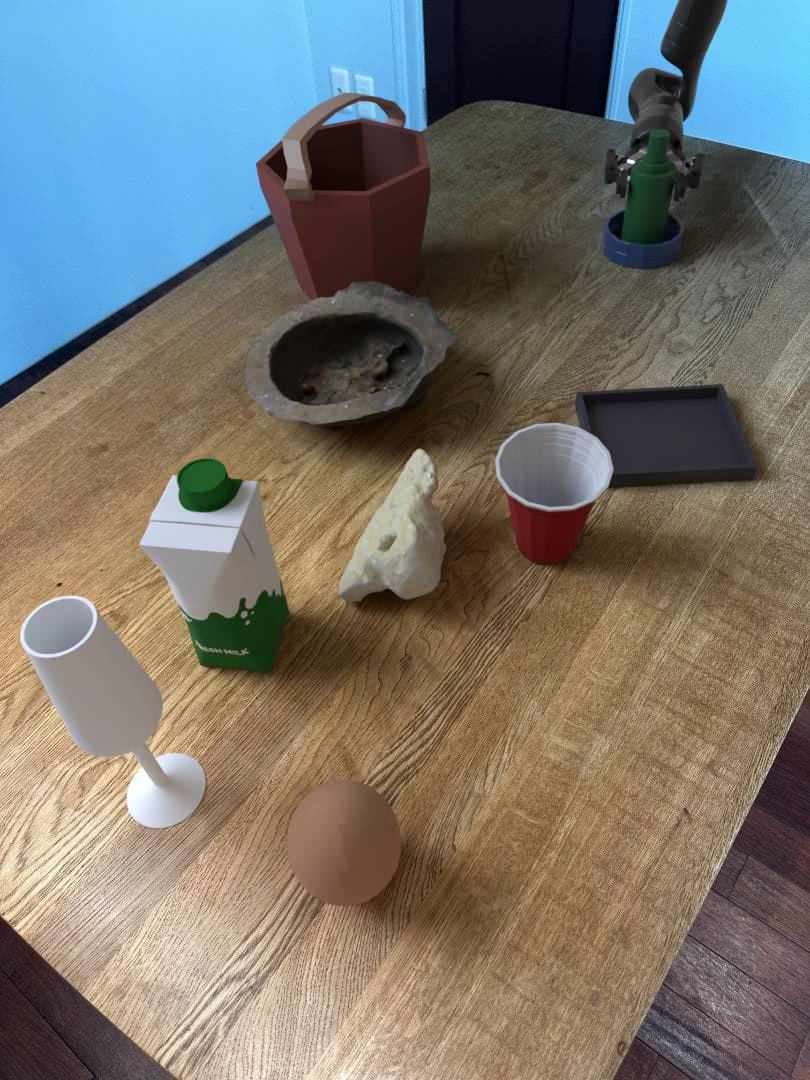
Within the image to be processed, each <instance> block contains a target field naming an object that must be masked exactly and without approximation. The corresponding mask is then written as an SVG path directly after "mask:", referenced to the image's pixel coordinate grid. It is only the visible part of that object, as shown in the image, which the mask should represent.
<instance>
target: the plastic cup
mask: <svg viewBox="0 0 810 1080" xmlns="http://www.w3.org/2000/svg"><path fill="white" fill-rule="evenodd" d="M494 464H495V472H496V478H497V480H498V482H499V484H501V486H502V487H503V490H504V491H505V496H506V497H507V502H508V507H509V513H510V518H511V522H512V523H511V524H512V530H513V532H514V536H515V542H516V546H517V548H518V550H519V552H520V554H521V555H522V556H523V557H524V558H525V559H526V560H528V561H530V562H532V563H534V564H538V565H542V566H546V565H547V566H548V565H556V564H559V563H561V562H564V561H565V560H566V559H567V558H568V557H569V556H570V555H571V554H572V552H573V551H574V549H575V547H576V544H577V541H578V538H579V537H580V536H581V533H582V531H583V529H584V527H585V525H586V522H587V520H588V517H589V515H590V513H591V511H592V508H593V505H594V504H595V503H596V501H597V499H598V498H599V497H600V496H601V495H602V494H603V493H604V492H605V491H606V490H607V489H608V488H609V487H608V486H609V483H610V479H611V476H612V473H613V470H614V469H613V465H612V461H611V456H610V452H609V451H608V450H607V449H606V448H605V446H604V445H603V444H602V443H601V441H600V440H599V439H598V438H597V437H595V436H593V435H592V434H590V433H588V432H586V431H585V430H583V429H581V428H580V426H575V425H570V424H565V423H561V422H549V423H548V422H547V423H535V424H531V425H529V426H527V427H524V428H521V429H519V430H517V431H514V433H512V434H511V435H510V436H509V437H508V438H506V440H504V441H503V442H502V443H501V444H500V446H499V449H498V452H497V454H496V457H495V458H494Z"/></svg>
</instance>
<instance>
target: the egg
mask: <svg viewBox="0 0 810 1080" xmlns="http://www.w3.org/2000/svg"><path fill="white" fill-rule="evenodd" d="M286 835H287V836H286V838H287V839H286V846H287V847H286V848H287V857H288V860H289V862H290V866H291V869H292V871H293V875H294V876H295V878H296V879H297V880H298V882H299V884H300V885H301V886H302V887H303V888H304V890H306V892H307V893H309V895H310V896H312V897H314V898H316V899H317V900H319V901H321V902H323V903H326V904H328V905H331V906H338V907H349V906H355V905H360V904H363V903H365V902H368V901H370V900H371V899H372V898H374V897H376V896H378V895H379V894H380V893H381V892H382V891H383V889H385V888H386V886H387V885H388V884H389V883H390V881H391V880H392V879H393V877H394V875H395V873H396V872H397V869H398V866H399V862H400V859H401V855H402V837H401V829H400V825H399V822H398V819H397V815H396V813H395V812H394V810H393V809H392V807H391V805H390V803H389V802H388V801H387V800H386V799H385V797H384V796H383V795H382V793H380V792H379V791H377V790H376V789H374V788H373V787H371V786H370V785H367V784H366V783H363V782H359V781H358V780H357V781H356V780H350V779H349V780H348V779H336V780H330V781H327V782H323V783H322V784H320V785H319V786H316V787H315V788H313V789H312V790H311V791H310V792H308V794H307V795H305V796H304V797H303V798H302V800H301V801H300V802H299V803H298V805H297V807H296V808H295V810H294V811H293V813H292V815H291V818H290V821H289V825H288V829H287V833H286Z"/></svg>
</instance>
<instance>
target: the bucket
mask: <svg viewBox="0 0 810 1080" xmlns="http://www.w3.org/2000/svg"><path fill="white" fill-rule="evenodd" d="M359 102H365V103H366V102H369V103H374V104H376V105H377V106H378V107H379V108H380V109H381V110H382V111H383V112H384V114H385V115H386V119H385V120H386V121H384V122H381V121H377V120H373V119H368V118H364V117H360V118H355V119H350V120H344V121H340V122H334V123H328V124H326V122H327V121H329V120H330V119H331V118H333V116H334V115H335V114H338V113H339V112H341V111H342V110H345V109H346V108H347V107H350V106H352V105H354V104H357V103H359ZM406 121H407V115H406V113H405V112H404V111H403V109H402V108H401V107H400V106H399V105H398V103H397V102H396V101H393V100H389V99H386V98H384V97H381V96H380V97H379V96H374V95H369V94H365V93H359V92H357V93H356V92H342V93H339V94H337V95H335V96H333V97H330V98H328V99H326V100H325V101H323V102H321V103H319V104H317V105H315V106H314V107H313V108H311V109H310V110H309V111H307V112H306V113H304V114H303V115H302V116H301V117H300V118H298V120H296V121H295V122H294V123H293V124H291V126H290V127H289V129H288V130H287V131H286V133H285V134H284V135H283V136H282V138H281V140H280V141H279V142H278V143H276V145H275V146H273V147H272V148H271V149H270V150H269V151H268V152H267V153H266V154H265V155H263V156H262V157H261V158H260V159H259V160H258V161H257V162H255V168H256V173H257V177H258V178H257V179H258V182H259V188H260V189H261V192H262V194H263V195H262V196H263V198H264V199H265V202H266V205H267V207H268V210H269V213H270V214H271V217H272V219H273V222H274V225H275V227H276V229H277V232H278V235H279V238H280V240H281V242H282V245H283V247H284V250H285V253H286V255H287V256H288V260H289V262H290V265H291V268H292V270H293V272H294V275H295V277H296V280H297V283H298V285H299V288H300V290H301V291H302V292H303V293H304V294H305V295H306V296H307V298H309V300H310V302H311V301H313V300H314V299H317V298H321V297H325V298H328V297H334V296H335V294H336V293H337V291H339V290H345V289H346V288H348V287H349V286H350V285H351V284H352V282H367V281H374V282H376V283H377V282H379V283H382V284H383V285H385V284H387V285H388V286H389V287H392V288H394V289H396V290H397V293H398V292H400V291H403V292H404V293H405V294H408V295H411V296H414V295H415V294H416V287H417V280H418V273H419V267H420V261H421V254H422V248H423V241H424V236H425V228H426V223H427V215H428V209H429V203H430V202H429V201H430V196H431V189H432V188H431V166H430V160H429V155H428V150H427V144H426V140H425V135H424V131H421V130H420V131H419V130H416V129H411V128H407V127H405V126H406Z"/></svg>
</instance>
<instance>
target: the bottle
mask: <svg viewBox="0 0 810 1080" xmlns="http://www.w3.org/2000/svg"><path fill="white" fill-rule="evenodd" d="M669 139H670V132H669V131H667V130H664V129H655V130H652V131H651V132H650V136H649V142H648V149H647V155H644V156H643V157H641V159H640V160H637V161H636V162H634V163H633V165H632V168H631V174H630V181H629V184H628V187H627V194H626V202H625V208H624V210H625V214H624V221H623V227H622V234H621V240H624V241H627V242H629V243H636V244H643V245H648V244H660V243H663V239H664V234H665V229H666V223H667V218H668V213H670V207H671V202H672V197H673V193H674V188H675V187H674V182H675V177H676V172H677V166H676V165H675V164H674V163H673V162H671V160H670V158H669V157H668V156H666V155H667V150H668V144H669Z"/></svg>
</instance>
